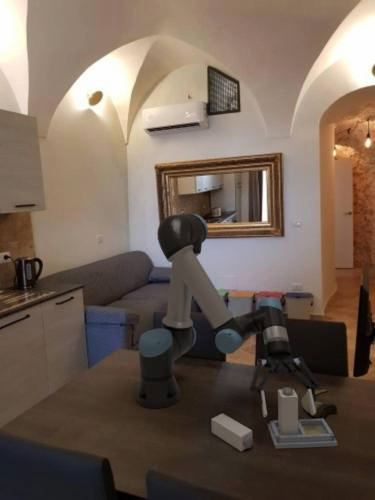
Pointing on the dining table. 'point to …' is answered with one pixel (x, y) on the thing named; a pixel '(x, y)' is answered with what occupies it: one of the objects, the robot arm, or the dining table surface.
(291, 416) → the white square bottle
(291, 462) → the dining table surface
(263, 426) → the dining table surface
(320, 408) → the claw
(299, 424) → the tray
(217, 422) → the white rectangular block
